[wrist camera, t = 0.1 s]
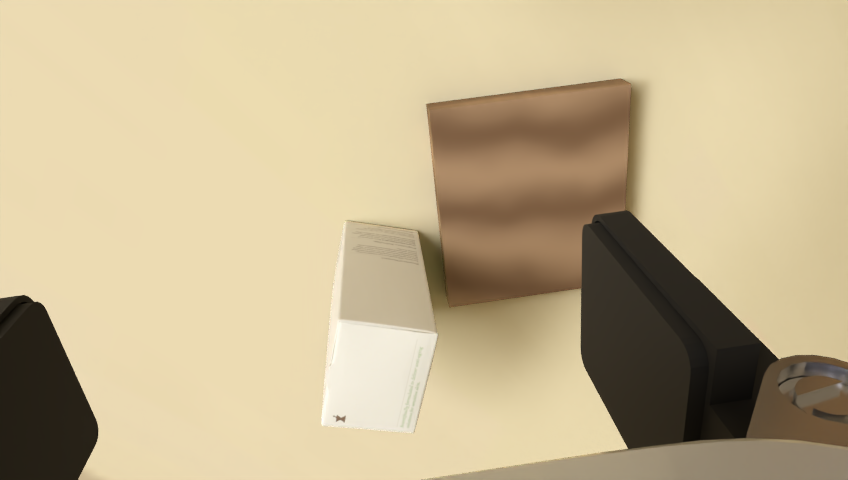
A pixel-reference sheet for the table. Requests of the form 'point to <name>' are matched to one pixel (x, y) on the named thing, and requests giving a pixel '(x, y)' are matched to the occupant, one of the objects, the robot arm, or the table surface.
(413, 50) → the table surface
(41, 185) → the table surface
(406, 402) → the skincare box
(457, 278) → the walnut board
